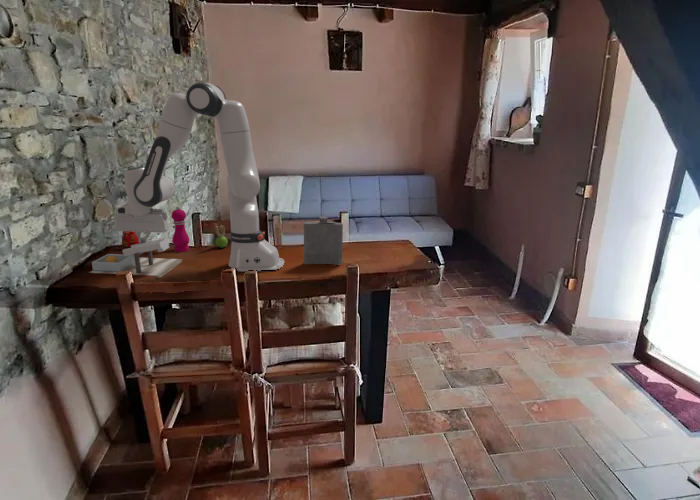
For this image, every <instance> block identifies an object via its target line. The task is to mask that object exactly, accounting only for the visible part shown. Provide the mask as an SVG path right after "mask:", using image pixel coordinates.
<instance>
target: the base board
mask: <svg viewBox="0 0 700 500" xmlns="http://www.w3.org/2000/svg"><path fill="white" fill-rule="evenodd" d="M133 255H134V259H135V264H133V265H132V266H130V267H128V268H127V269H125V270H123V271H132V274H133V275H136V276H152V277H153V276H155V277H154V278H155V279H161V278H163V276H164V275H166V274H167V273H169V272H170V271H171V270H173V269H174V268H175V267H177V266H178V265H179V264H181V263H182V262H183V258H163V257H161V258H160V257H158V258H157V257H154V256H153V251H148V252H147V257H140V255H139V253H135V254H133ZM88 273H89V274H108V275H110V274H112V275H113V274H115V275H117V274H116V273H117V272H102V271H93V269H92V270H91V271H89V272H88Z"/></svg>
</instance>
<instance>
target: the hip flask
mask: <svg viewBox="0 0 700 500" xmlns="http://www.w3.org/2000/svg"><path fill="white" fill-rule="evenodd" d="M318 219H319V221H305V222H303V264H304V265H305V264H336V265H338V264H342V265H343V239H344V238H343V234H344V229H343V228H344V225H343V224H344V223H343V222H336V221H330V220H328V219H329V217H328V216H324V215H323V216H318ZM336 265H335V266H336Z"/></svg>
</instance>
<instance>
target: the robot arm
mask: <svg viewBox="0 0 700 500" xmlns="http://www.w3.org/2000/svg"><path fill="white" fill-rule="evenodd" d="M246 112H247V111H246V109H245V107H244V105H243V104H242V103H241V102H240V101H237V100H234V99H233V100H230V99H228V100H227V97H226V94H225V93H224V91H223V89H222V88H221V87H219V86H218V85H216V84H212V83H210V82H196V83H194V84H192V85H190V87H189V88H188V89H187V91H186V93H182V92H174V93H172V94H170V95H169V97H168V98H167V100H166V103H165V105H164V108H163V110H162V114H161V115H160V116H161V117H160V120H159V124H158V128H157V133H156V135H155V138H154V141H153V143H152V145H151V148H150V150H149V154H148V156H147V159H146V163H145V165H144V166H137V167H130V168H127V169H126V171H125V172H124V187H125V193H126V194H127V199H126V204H123V205H120V206H119V207H116V208H115V213H116V215H115V217H114V222H115V229H116V230H117V231H118V232H124V231H133V232H136V235H137V236H138V238H139V243H144V242H149V241H150V240H149V239H150V238H149V237H150V236H151V234H152V233H166V232H168V230H169V227H170V226H169V222H168V219H167V218H168V214H167V212H166V211H165V210H163V208H153V207H155V206H156V205H158V204H160V203H163V202H165V201H167V200H169V199H171V198H173V196H174V195H175V193H176V185H175V184H176V183H174V180H172V178H171V177H169V176H166V175H164V172H165V169H166V165H167V163H168V161H169V159H170V158H171V157H172V155H173V154H175V153H176V152H177V151H179V150H181V149H182V148H184V146H186V144H187V142H188V140H189V138H190V136H191V133H192V128H193V125H194V123H195V119H196V117H197V116H198V115H203V116H208V117H210V118H211V117H212V118H213V117H214V118H215V119H216V121H217V124H218V127H219V129H218V130H219V135H220V141H221V146H222V153H223V157H224V161H225V166H226V170H227V176H226V185H227V197H228V206H229V221H230V232H229V241H230V256H229V261H228V266H229V267H230V268H232V269H234V268H236V269H237V270H236V269H235V270H236V271H237V272H249V271H248V270H257V271H256V272H262V271H261V270H276V271H278V270H277V269H279V270H280V268H281V267H282V268H283V267H284V266H283V265H285V264H284V263H285V259H284V258H281V257H280V255H279V251H278V249H277V248H276V247H277V246H276V247H275V246H274V245H272V243H270V242H268V241H267V240H266V239H265V231H262V230H261V229H260V217H259V216H260V215H259V208H258V206H259V205H258V201H257V200H258V199H257V196H258V194H259V192H260V189H261V182H260V176H259V170H258V166H257V162H256V157H255V153H254V148H253V142H252V135H251V129H250V123H249V119H248V115H247V113H246ZM142 233H144V235H145V237H144V236H143V235H142ZM282 268H281V269H282Z"/></svg>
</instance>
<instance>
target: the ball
mask: <svg viewBox="0 0 700 500" xmlns="http://www.w3.org/2000/svg"><path fill="white" fill-rule="evenodd" d="M106 262H114V263H117V258H116V257H115V256H109V257H107V258H106Z"/></svg>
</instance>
